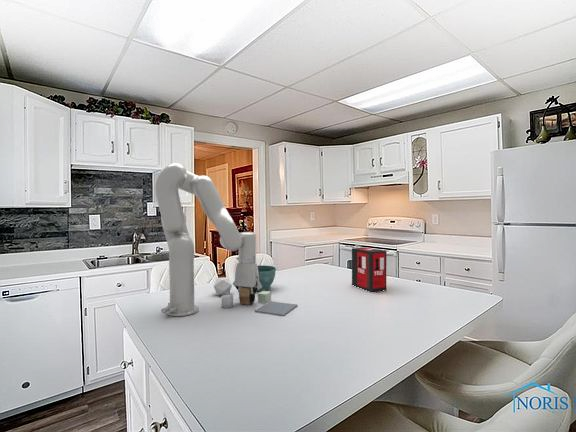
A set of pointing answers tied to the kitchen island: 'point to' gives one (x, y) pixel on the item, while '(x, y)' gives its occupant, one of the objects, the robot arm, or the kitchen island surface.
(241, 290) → the walnut block
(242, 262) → the robot arm
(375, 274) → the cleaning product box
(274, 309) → the slate mat
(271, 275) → the flower pot
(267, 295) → the sage block
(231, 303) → the grey rounded piece
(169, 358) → the kitchen island surface
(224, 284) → the die
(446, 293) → the kitchen island surface
